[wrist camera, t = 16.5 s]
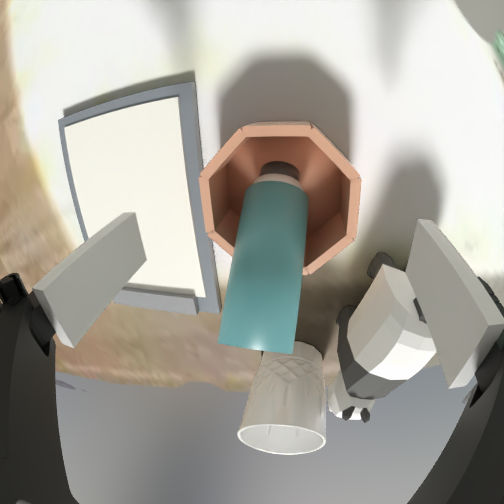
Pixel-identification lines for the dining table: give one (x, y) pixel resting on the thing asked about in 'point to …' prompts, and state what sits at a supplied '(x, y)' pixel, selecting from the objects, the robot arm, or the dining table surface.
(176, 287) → the clipboard
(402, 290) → the giant panda
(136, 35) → the dining table surface
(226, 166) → the terracotta octagonal bowl
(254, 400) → the white cup
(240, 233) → the teal cylinder
